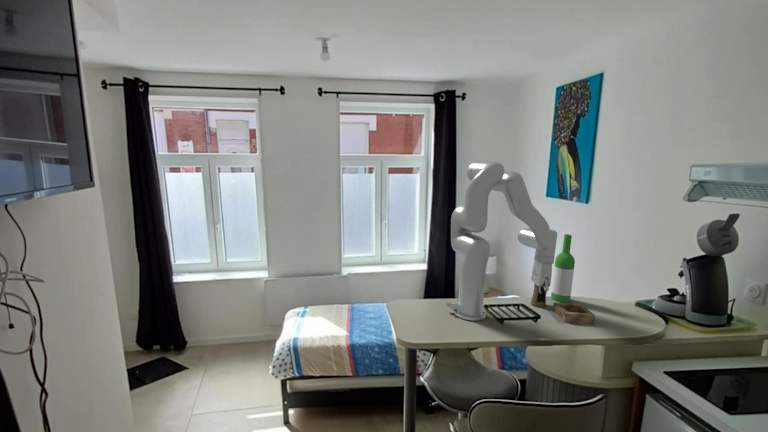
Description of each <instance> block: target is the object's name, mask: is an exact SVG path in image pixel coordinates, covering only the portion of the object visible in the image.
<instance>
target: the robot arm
mask: <svg viewBox="0 0 768 432" xmlns="http://www.w3.org/2000/svg"><path fill="white" fill-rule="evenodd" d="M466 176H467V178H468V179H469V181H470V182H469V184H468V186H467V188H466V190H465V195H464V204H461V205H459V206H457V207H455V209H454V210H453V212H452V214H451V218H450V243H451V244H450V245H451V248H452V250H453V251H454V252H455V253H456V254H458V255H461V256H462V257H464V260H463V262H462V264H461V267H460V272H459V286H458V288H459V289H458V290H459V291H458V299H456V301H454V302H449V301H446V302H445V307H446V308H449V309H450V310H453V314H454V315H455V317H457V318H460V319H462V320H466V321H472V322H473V321H475V322H476V321H478V322H479V321H482V320H485V319H486V318H487V313H486V311H485V310H484V309H483V307H484V297H485V287H486V286H485V285H486V275H487V274H486V273H487V268H488V267H487V266H488V261H489V259H490V255H491V246H490V245H491V244H490V243H489V241H487V240H486V239H485V238H484V237H481V236H480V235H477V234H476V233H478V234H479V233H482V232H484V231H485V230H486V228H487V225H488V217H489V216H488V214H489V213H488V212H489V211H488V209H489V207H488V206H489V196H490V192H492V191H495V192H499V193H503V195H504V198H505V201H506V202H507V206H508V209H509V212H510V213H511V214H512V215H513V216H514V217H516V218H517V219H518V220H520V221H522V222H523V223H524V224H525V225H526V226H527V227H524V228H522V229H520V230H519V232H518V233H517V240H518V242H519V243H520V244H521V245H523V246H524V247H525V246H526V247H528V248H532V249H535V251H534V258H533V259H534V261H533V266H532V270H531V276H530V280H531V281H532V282H533V284H534V283H535V284H536V285H537V286H539V293H538V296H537V302H540V301H541V302H543V303H545V299H546V300H547V294H548V293H547V292H548V291H549V289H550V287H551V285H552V274H553V264H554V265H555V256H556V247H557V242H558V241H557V240H558V232H557V230H554V229H551V228H550V225H549V223H548V221H547V220H546V218H545V217H544V216H543V215H542V214H541V213H540V211H539V210H538V209H537V208H536V207H535V206H534V205H533V203H532V201H531V198H530V195H529V192H528V189H527V185H526V183H525V180H524V178H523V176H522V175H521V174H520V173H519V172H517V171H513V170H505V167H504V165H503V164H502V163H500V162H497V161H492V160H490V161H489V160H488V161H485V160H484V161H482V160H481V161H480V160H479V161H478V160H477V161H474V162H472V163H470V164H469V165H468V167H467V168H466ZM542 285H544V286H542ZM541 287H542V288H543V289H542V288H541ZM533 288H534V289H533V293H534V290H535V285H533ZM541 289H542V290H541ZM533 293H532V294H533Z"/></svg>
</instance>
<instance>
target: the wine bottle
mask: <svg viewBox="0 0 768 432" xmlns="http://www.w3.org/2000/svg"><path fill="white" fill-rule="evenodd" d="M572 236H573V235H571V234H570V233H569V234H566V233H565V234H564V236H563V242H562V251H561V252H560V253H558V254H557V255H556V257H555V258H554V266H553V267H554V268H553V277H552V282H551V291H550V292H551V293H550V294H551V295H550V296H551V297H550V298H551V300H553V301H555V302H556V303H569V302H570V301H571V295H572V288H573V280H574V274H575V273H574V272H575V258H574V256H573V255H572V253H571V248H572V247H571V245H572V238H573V237H572Z"/></svg>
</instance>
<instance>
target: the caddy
mask: <svg viewBox="0 0 768 432" xmlns="http://www.w3.org/2000/svg"><path fill="white" fill-rule="evenodd" d="M552 310H553V311H554V312H555V313H556V314H557V315H558V316H559V317H560V318H561V319H562V320H563V321H564V322H569V323H584V324H595V320H596V319H595V318H596V314H594V313H593V312H591V311H590V310H589V309H588V308H587V307H586V306H584V305H583V304H582V303H569V302H567V303H562V302H553V307H552Z"/></svg>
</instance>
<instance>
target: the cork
mask: <svg viewBox="0 0 768 432" xmlns="http://www.w3.org/2000/svg"><path fill="white" fill-rule="evenodd" d="M533 284H534V285H535V290H534V289H533V292H534V293H532V297H531V301H530V305H532V306H533V307H535V308H542V309H543V308H546V307H547V302H546V301H547V298H546V299H545V303H543V302H541V301H540V302H537V296H538V293H539V286H537V285H536V284H535V283H534V282H533ZM534 285H533V286H534ZM542 286H544V285H542ZM541 288H542V287H541ZM542 289H543V288H542ZM542 289H541V290H542Z"/></svg>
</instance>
